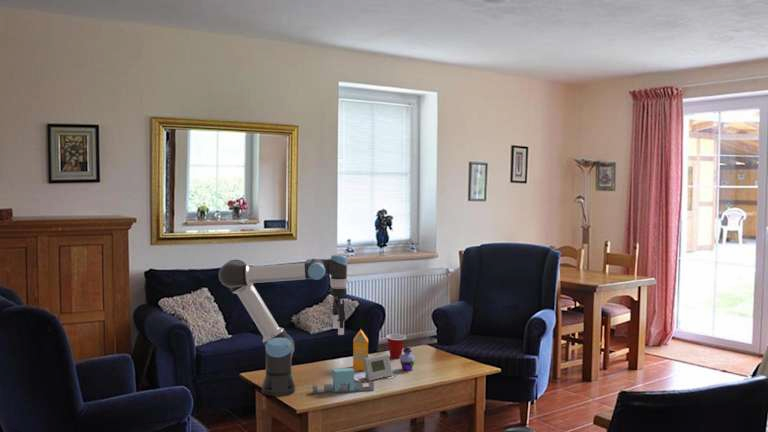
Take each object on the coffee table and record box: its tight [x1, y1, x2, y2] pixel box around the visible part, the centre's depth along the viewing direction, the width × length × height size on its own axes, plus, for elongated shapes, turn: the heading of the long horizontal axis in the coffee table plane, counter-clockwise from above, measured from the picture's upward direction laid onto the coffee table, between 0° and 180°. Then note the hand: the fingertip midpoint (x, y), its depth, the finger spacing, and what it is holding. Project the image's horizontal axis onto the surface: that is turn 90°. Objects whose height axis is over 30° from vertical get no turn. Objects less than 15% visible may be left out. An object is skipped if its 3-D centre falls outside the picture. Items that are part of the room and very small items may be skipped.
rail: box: [312, 380, 375, 395], centre depth 310 cm, size 28×3×4 cm, turn 104°
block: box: [332, 367, 355, 391], centre depth 310 cm, size 9×4×9 cm, turn 105°
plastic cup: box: [386, 333, 407, 360], centre depth 372 cm, size 11×11×12 cm
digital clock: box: [363, 353, 393, 382], centre depth 333 cm, size 16×9×11 cm, turn 120°
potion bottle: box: [399, 345, 416, 372], centre depth 348 cm, size 9×9×12 cm
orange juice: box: [352, 328, 369, 370], centre depth 349 cm, size 8×9×20 cm
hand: (338, 331), depth 323 cm, fingers open, 13 cm apart
